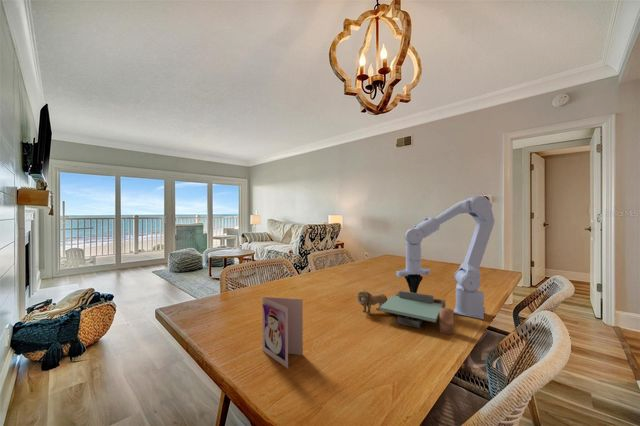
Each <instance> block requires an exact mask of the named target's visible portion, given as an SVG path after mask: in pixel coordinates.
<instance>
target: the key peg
mask: <svg viewBox="0 0 640 426" xmlns="http://www.w3.org/2000/svg"><path fill="white" fill-rule="evenodd" d="M438 325H439V332H440V333H441V334H443V335H447V336H451V335H453V334H454V310H453V309H452V308H448V307H445V308H440V324H438Z"/></svg>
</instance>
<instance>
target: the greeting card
mask: <svg viewBox="0 0 640 426" xmlns="http://www.w3.org/2000/svg"><path fill="white" fill-rule="evenodd" d="M261 298H262V303H261V304H262V352H264V353H265V354H267V355H268V356H270V357H271V358H272V359H273V360H275V361H277V362H278V363H279V364H281V365H282V366H284V367H285V368H286V369H289V354H292V355H299V356H303V355H304V354H303V351H304V349H303V348H304V347H303V346H304V345H303V342H304V340H303V337H304V336H303V330H304V329H303V325H304V324H303V323H304V322H303V320H304V319H303V317H304V316H303V315H304V314H303V309H304V308H303V307H304V306H303V301H304V300H303V298H286V297H285V298H284V297H269V296H262V297H261Z"/></svg>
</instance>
